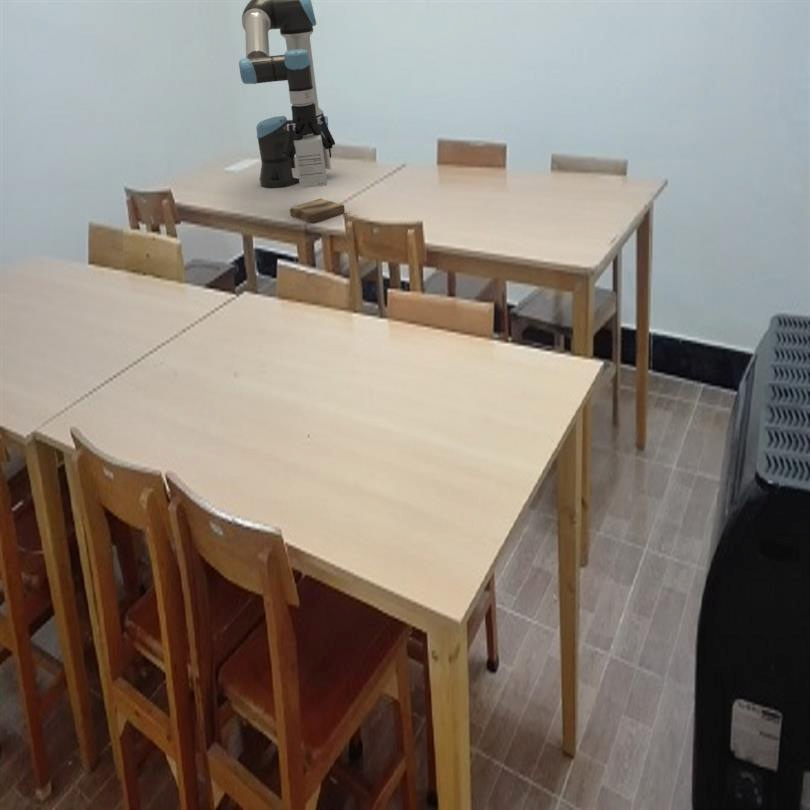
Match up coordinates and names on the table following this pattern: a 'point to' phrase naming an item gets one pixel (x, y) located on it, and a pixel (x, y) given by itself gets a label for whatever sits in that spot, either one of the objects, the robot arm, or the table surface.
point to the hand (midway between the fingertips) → (312, 173)
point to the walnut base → (317, 210)
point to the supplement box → (311, 161)
